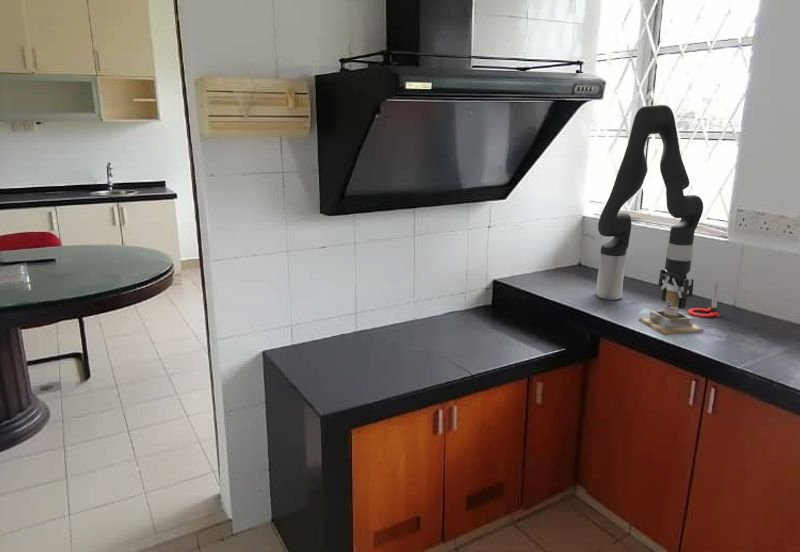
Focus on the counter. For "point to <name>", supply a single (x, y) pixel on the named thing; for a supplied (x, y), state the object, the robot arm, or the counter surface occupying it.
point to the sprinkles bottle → (671, 302)
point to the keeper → (670, 323)
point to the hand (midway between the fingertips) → (672, 304)
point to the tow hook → (712, 309)
